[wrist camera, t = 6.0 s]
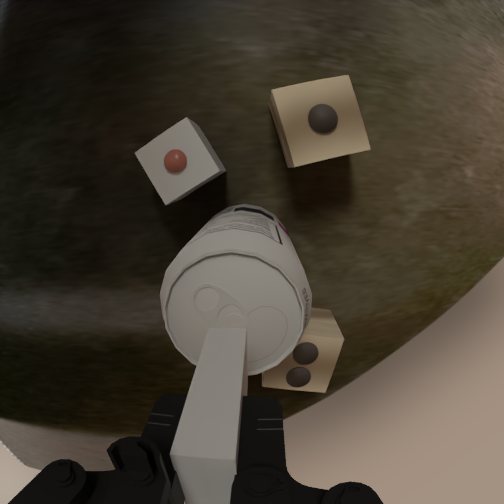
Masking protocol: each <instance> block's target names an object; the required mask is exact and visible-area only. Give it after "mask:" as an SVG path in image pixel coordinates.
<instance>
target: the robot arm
mask: <svg viewBox="0 0 504 504" xmlns="http://www.w3.org/2000/svg"><path fill="white" fill-rule="evenodd" d="M247 388H248V369H247V329H246V328H209V329H208V332H207V335H206V338H205V341H204V344H203V347H202V351H201V354H200V357H199V360H198V363H197V367H196V370H195V373H194V376H193V379H192V383H191V386H190V389H189V392H188V394H176V393H165V394H164V395H163V396H161V397H160V398H159V399H158V400H157V401H156V402H155V405H154V407H153V409H152V412H151V415H150V416H149V419H148V421H147V422H148V423H147V424H146V426H145V428H144V431H143V433H142V435H141V437H126V438H122V439H119V440H117V441H116V442H114V443H112V444H111V445H110V447H109V448H108V449H107V452H108V455H109V457H110V459H111V461H112V463H113V465H114V467H115V470H111V471H85V470H84V468H83V467H82V466H81V465H80V464H79V463H77V462H75V461H72V460H69V459H60V460H57V461H53V462H52V463H50V464H49V465H47V466H46V467H45V468H44V469H43V470H42V471H41V472H40V473H39V474H38V475H37V476H36V477H35V478H34V479H33V480H32V481H31V482H30V483H29V484H28V485H27V486H25V487H24V488H23V489H22V491H20V492H19V493H18V494H17V495H16V496H15V497H14V498H13V499H12V500H11V501H10V502H9V503H8V504H184V501H185V503H186V504H383V502H382V501H381V500H380V498H379V496H378V495H377V493H376V492H375V491H374V490H372V488H371V487H369V486H367V485H365V484H362V483H358V482H346V483H340V484H338V485H336V486H334V487H332V488H330V489H329V490H324V489H318V488H312V487H308V486H305V485H302V484H300V483H298V482H297V481H295V480H294V479H293V478H292V477H291V476H290V475H289V473H288V471H287V467H286V459H285V444H284V431H283V420H282V406H281V405H280V403H279V402H278V400H277V399H276V398H275V396H247Z"/></svg>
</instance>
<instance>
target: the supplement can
mask: <svg viewBox="0 0 504 504" xmlns="http://www.w3.org/2000/svg"><path fill="white" fill-rule="evenodd" d="M160 300H161V308H162V316H163V319H164V321H165V327H166V330H167V332H168V334H169V336H170V338H171V340H172V342H173V343H174V345H175V347H176V349H177V350H178V351H179V352H181V353H182V354H183V355H184V356H185V357H186V358H187V359H188V360H189V361H190V362H191V363H192V364H194V365H196V366H197V363H198V360H199V357H200V354H201V351H202V347H203V344H204V341H205V338H206V335H207V332H208V329H209V328H246V329H247V369H248V376H249V375H256V374H259V373H261V372H264V371H266V370H268V369H270V368H272V367H275V366H277V365H278V364H279V363H280V362H281V361H282V360H283V359H285V358H286V357H287V356H288V355H289V354H290V353H291V352H292V351H293V350H294V348H295V346H296V344H297V343H298V342H299V341H300V340H301V338H302V335H303V333H304V331H305V329H306V327H307V325H308V323H309V321H310V317H311V303H312V293H311V290H310V287H309V284H308V281H307V278H306V275H305V272H304V269H303V267H302V265H301V262H300V260H299V258H298V255H297V253H296V251H295V249H294V246H293V244H292V242H291V240H290V238H289V235H288V233H287V231H286V229H285V227H284V225H283V224H282V223H281V222H280V221H279V219H278V218H277V217H276V216H275V215H274V214H273V213H271V212H269V211H267V210H266V209H264V208H262V207H260V206H254V205H248V204H241V205H236V206H230V207H227V208H226V209H224V210H222V211H221V212H219V213H217V214H216V215H214V216H213V217H212V218H211V219H210V220H209V221H208V222H207V224H206V225H205V226H204V227H203V228H202V229H201V230H200V231H199V232H198V233H197V234H196V235H195V236H194V237H193V238H192V239H191V240H190V241H189V242H188V243H187V244H186V245H185V246H184V247H183V249H182V250H181V251H180V252H179V253H178V255H177V256H176V257H175V259H174V260H173V261H172V263H171V264H170V265H169V267H168V268H167V269H166V272H165V276H164V279H163V283H162V287H161V291H160Z"/></svg>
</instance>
